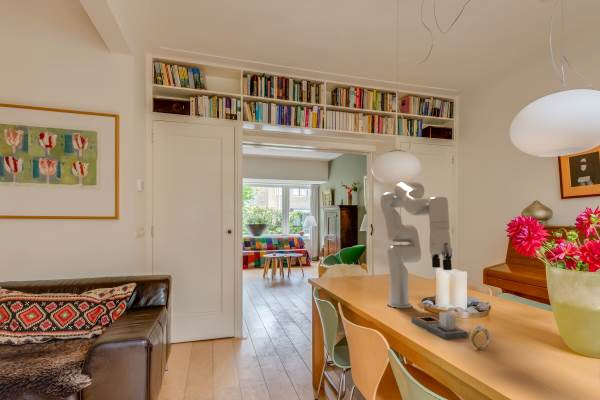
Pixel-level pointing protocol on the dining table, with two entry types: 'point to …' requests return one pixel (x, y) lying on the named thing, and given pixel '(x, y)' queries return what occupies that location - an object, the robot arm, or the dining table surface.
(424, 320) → the dark grey socket board
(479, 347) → the bracelet
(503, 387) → the dining table surface
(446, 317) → the peg
